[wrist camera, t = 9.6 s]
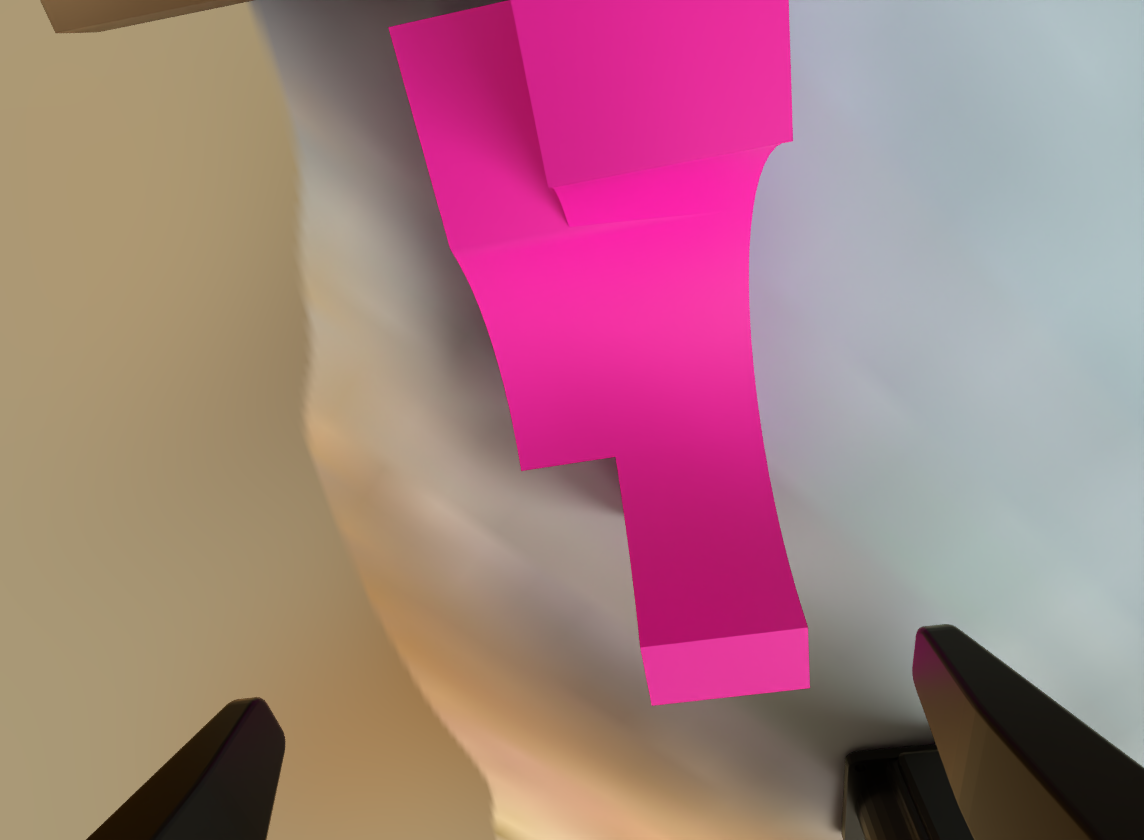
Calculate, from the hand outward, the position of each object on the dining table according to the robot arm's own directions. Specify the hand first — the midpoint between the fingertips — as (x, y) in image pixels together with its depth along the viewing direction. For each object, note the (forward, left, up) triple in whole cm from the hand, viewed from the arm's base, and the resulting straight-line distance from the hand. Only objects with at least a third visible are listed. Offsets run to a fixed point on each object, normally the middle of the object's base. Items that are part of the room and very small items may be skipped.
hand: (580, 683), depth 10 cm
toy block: (+1, -1, -12) cm, 12 cm away
